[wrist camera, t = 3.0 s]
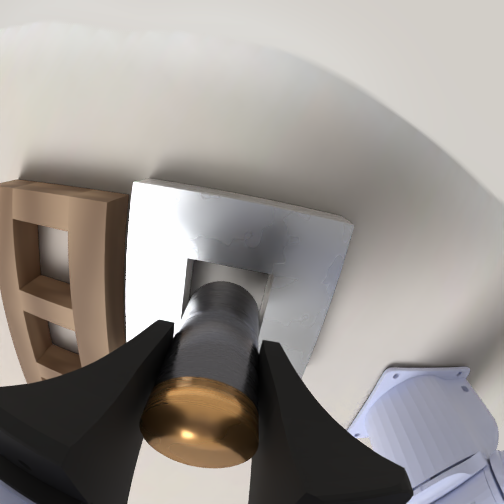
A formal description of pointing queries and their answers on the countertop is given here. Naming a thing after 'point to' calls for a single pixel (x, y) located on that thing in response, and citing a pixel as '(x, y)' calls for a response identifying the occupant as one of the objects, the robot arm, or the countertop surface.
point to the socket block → (233, 258)
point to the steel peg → (209, 382)
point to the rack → (80, 272)
